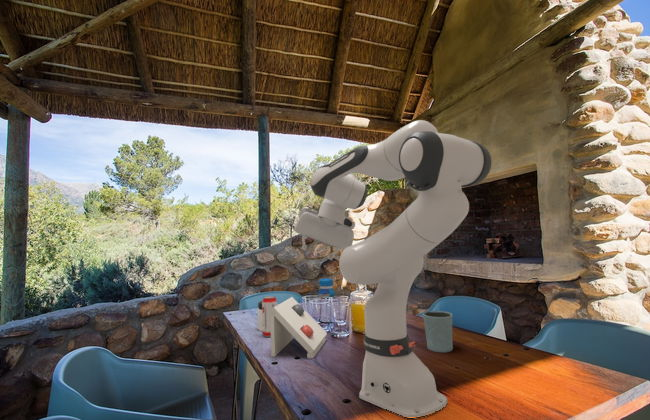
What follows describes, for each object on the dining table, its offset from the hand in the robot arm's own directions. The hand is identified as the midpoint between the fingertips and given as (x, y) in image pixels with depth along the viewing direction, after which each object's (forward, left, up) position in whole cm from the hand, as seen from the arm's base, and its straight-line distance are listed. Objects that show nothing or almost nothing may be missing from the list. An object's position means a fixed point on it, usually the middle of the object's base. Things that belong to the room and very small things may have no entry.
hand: (316, 254), depth 113 cm
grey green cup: (-15, -41, -35) cm, 56 cm away
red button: (+11, -1, -31) cm, 33 cm away
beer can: (+38, +1, -35) cm, 52 cm away
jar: (+48, -2, -35) cm, 60 cm away
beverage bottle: (+42, -30, -35) cm, 63 cm away
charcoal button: (+21, -3, -25) cm, 33 cm away
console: (+16, -2, -35) cm, 39 cm away
